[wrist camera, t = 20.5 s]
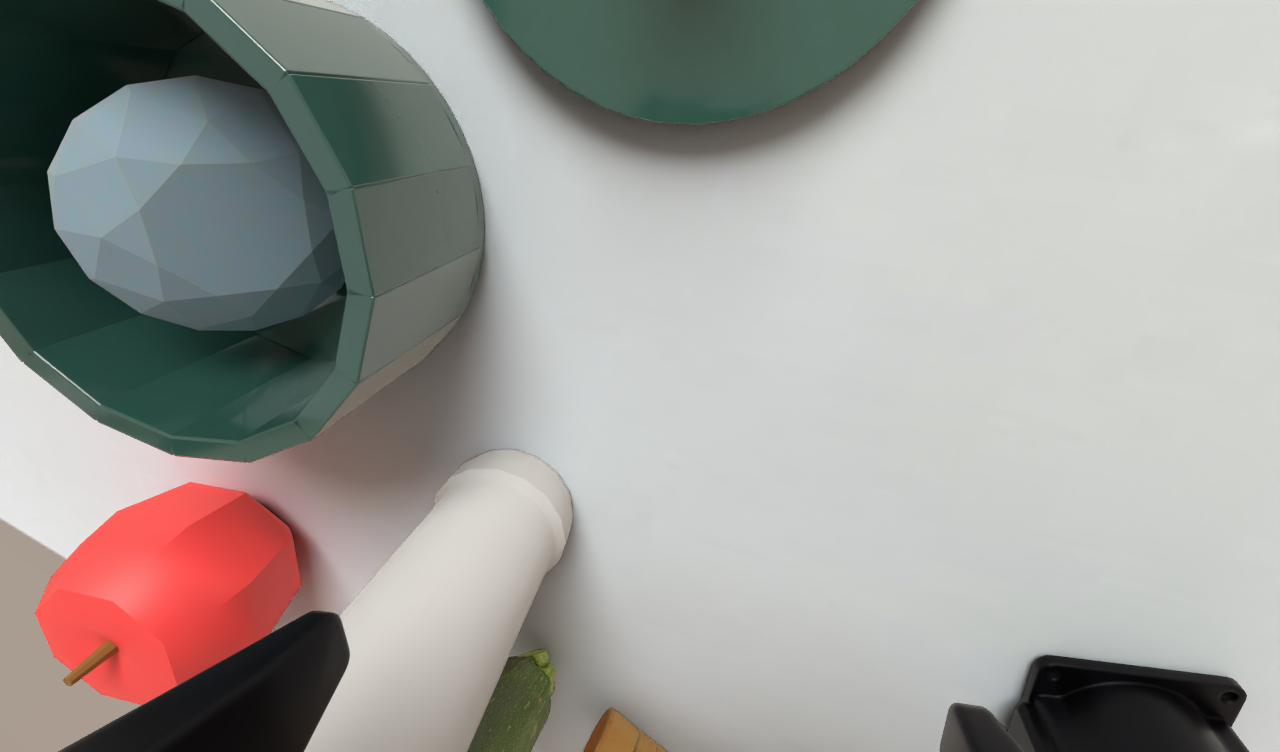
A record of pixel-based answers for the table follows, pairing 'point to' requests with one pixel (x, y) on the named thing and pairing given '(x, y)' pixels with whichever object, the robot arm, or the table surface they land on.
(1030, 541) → the table surface
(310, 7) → the pot
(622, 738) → the kendama
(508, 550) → the bottle
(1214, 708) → the robot arm
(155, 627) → the apple
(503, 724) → the vegetable
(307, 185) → the gemstone
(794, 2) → the lid
